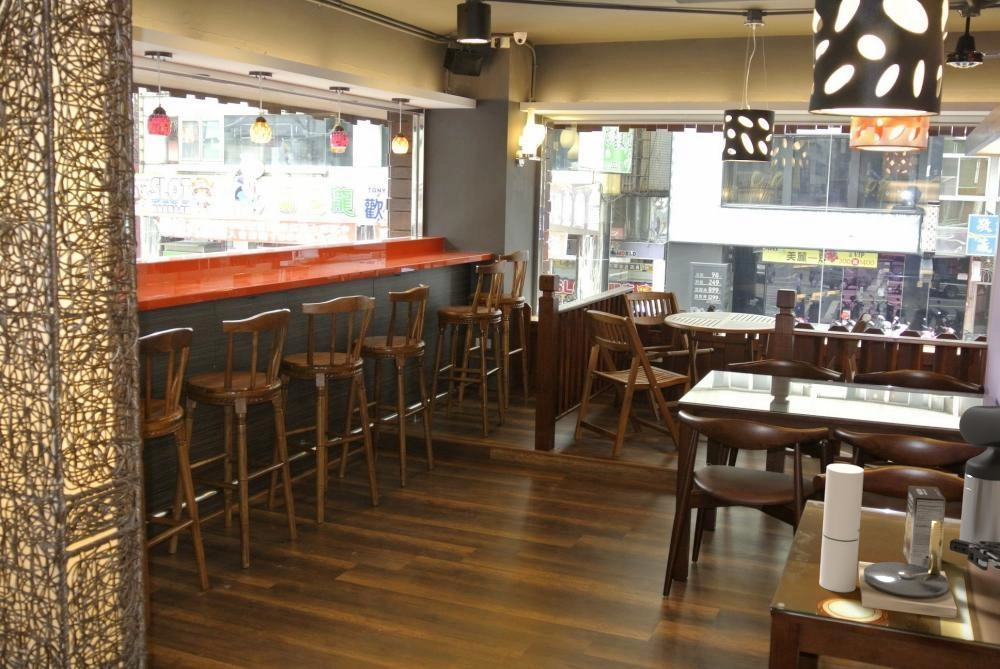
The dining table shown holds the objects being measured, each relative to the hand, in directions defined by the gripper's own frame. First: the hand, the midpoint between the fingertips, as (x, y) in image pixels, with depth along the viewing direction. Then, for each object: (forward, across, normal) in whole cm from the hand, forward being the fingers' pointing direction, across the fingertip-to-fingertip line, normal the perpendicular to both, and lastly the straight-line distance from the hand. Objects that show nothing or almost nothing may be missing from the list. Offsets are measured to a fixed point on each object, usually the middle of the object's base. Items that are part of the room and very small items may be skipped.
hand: (951, 544), depth 204 cm
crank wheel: (+6, +7, +8) cm, 12 cm away
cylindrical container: (+17, +13, +11) cm, 24 cm away
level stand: (+6, +7, +10) cm, 14 cm away
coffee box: (+11, -13, +11) cm, 21 cm away
